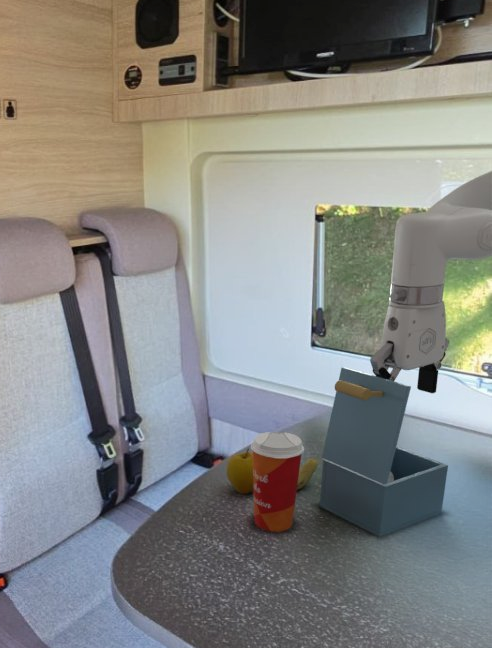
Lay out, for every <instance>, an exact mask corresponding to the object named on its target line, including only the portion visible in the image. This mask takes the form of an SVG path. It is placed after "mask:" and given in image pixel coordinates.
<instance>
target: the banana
mask: <svg viewBox="0 0 492 648" xmlns="http://www.w3.org/2000/svg"><path fill="white" fill-rule="evenodd" d="M317 468H318V459H317V458H315V457H313V458H309V459H307V460H306V461H305V463H303V464H302V466H301V467H300V470H299V477H298V485H297V491H298V490H300V489H302V488H304V487H305V486H306V485H307V483H308V482H309V481H310V479H311V478H312V476H313V475H314V474H315V472H316V471H317Z"/></svg>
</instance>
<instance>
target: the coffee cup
mask: <svg viewBox="0 0 492 648" xmlns="http://www.w3.org/2000/svg"><path fill="white" fill-rule="evenodd" d="M250 449H251V450H252V453H253V483H254V491H253V514H254V516H253V517H254V525H256V526H257V527H258V528H260V529H262V530H263V531H267V532H276V533H277V532H284V531H287V530H290V529H291V527H292V525H293V520H294V514H295V507H296V499H297V492H298V490H297V485H298V477H299V470H300V469H301V462H302V461H301V460H302V455H303V453H304V452H305V447H304V445H303V441H302V439H301V438H300V436H298V435H296V434H293V433H289V432H285V431H284V432H283V433H281V432H280V431H272V432H270V431H266V432H261V433H259V434H256V435H255V436H254V438H253V441H252V443H251V444H250Z"/></svg>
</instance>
